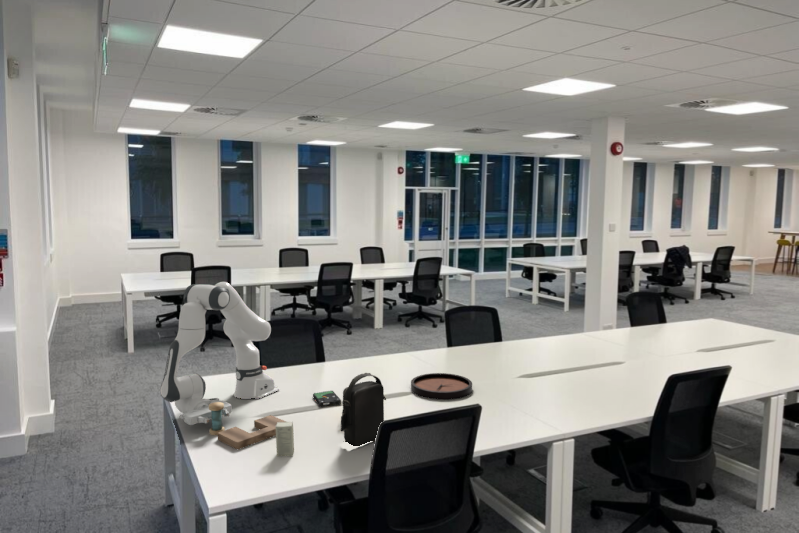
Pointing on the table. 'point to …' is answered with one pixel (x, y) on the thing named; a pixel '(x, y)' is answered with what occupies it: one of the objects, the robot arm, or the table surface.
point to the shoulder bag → (362, 410)
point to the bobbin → (216, 417)
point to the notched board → (242, 438)
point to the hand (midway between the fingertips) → (217, 417)
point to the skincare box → (284, 439)
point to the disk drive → (327, 398)
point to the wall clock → (441, 386)
